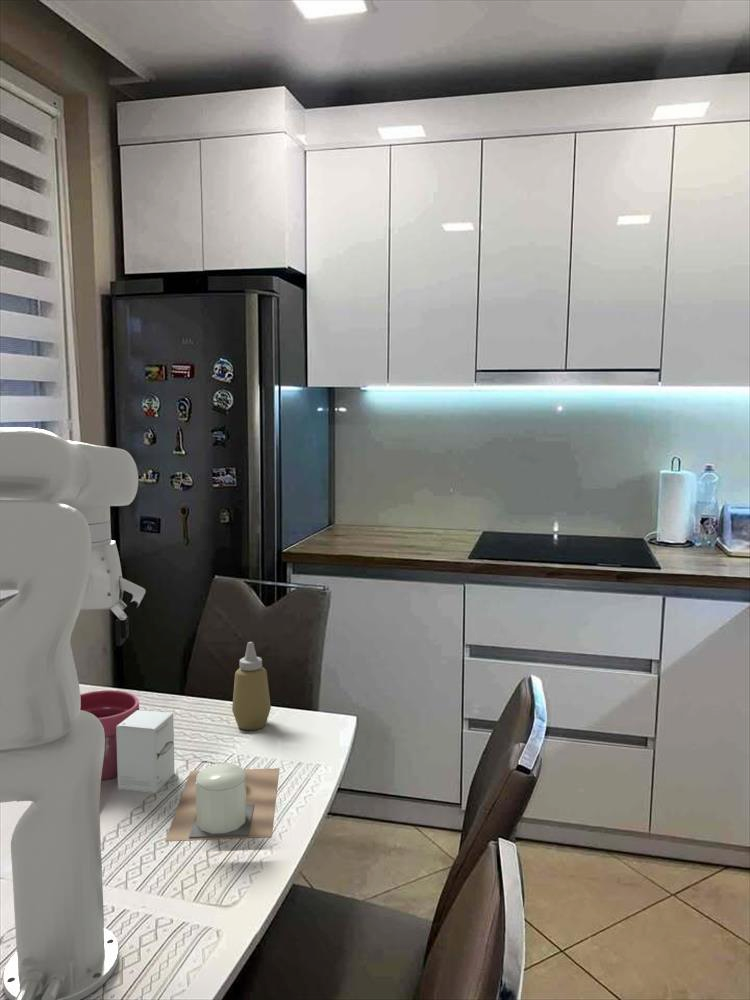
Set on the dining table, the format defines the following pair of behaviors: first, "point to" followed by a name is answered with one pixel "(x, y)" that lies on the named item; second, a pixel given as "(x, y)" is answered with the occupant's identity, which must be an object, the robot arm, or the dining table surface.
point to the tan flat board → (257, 809)
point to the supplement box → (145, 751)
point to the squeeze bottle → (251, 692)
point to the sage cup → (221, 798)
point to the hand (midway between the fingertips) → (89, 643)
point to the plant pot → (109, 720)
